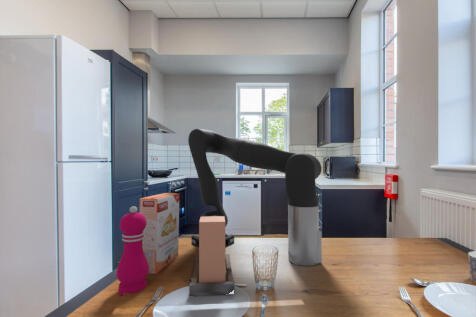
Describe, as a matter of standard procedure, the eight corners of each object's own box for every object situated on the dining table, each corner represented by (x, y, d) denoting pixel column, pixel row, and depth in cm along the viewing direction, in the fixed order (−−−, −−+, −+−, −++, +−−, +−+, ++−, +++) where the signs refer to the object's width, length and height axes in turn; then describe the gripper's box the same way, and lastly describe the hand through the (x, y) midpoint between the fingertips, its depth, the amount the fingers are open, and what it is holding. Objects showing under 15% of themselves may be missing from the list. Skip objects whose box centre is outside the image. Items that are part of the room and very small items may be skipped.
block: (224, 279, 65) (224, 216, 65) (225, 291, 59) (225, 221, 59) (200, 280, 64) (200, 216, 64) (199, 292, 58) (199, 222, 58)
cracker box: (157, 277, 68) (158, 198, 68) (137, 275, 69) (137, 198, 69) (180, 257, 81) (180, 192, 82) (162, 256, 83) (162, 192, 83)
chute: (229, 260, 79) (229, 250, 79) (234, 298, 57) (234, 283, 57) (196, 261, 78) (196, 251, 78) (189, 300, 56) (189, 285, 56)
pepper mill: (155, 285, 63) (155, 204, 64) (134, 300, 56) (135, 209, 57) (131, 280, 66) (132, 203, 66) (109, 294, 59) (109, 207, 59)
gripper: (192, 220, 81) (186, 236, 64) (233, 219, 82) (238, 234, 65) (192, 244, 81) (186, 266, 64) (233, 242, 82) (238, 264, 65)
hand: (212, 250), depth 65 cm, fingers closed
